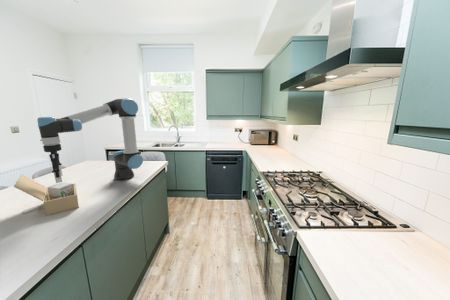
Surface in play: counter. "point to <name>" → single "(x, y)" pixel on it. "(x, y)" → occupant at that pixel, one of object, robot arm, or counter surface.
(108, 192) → the counter surface
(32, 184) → the lid
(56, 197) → the ink box
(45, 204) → the box
